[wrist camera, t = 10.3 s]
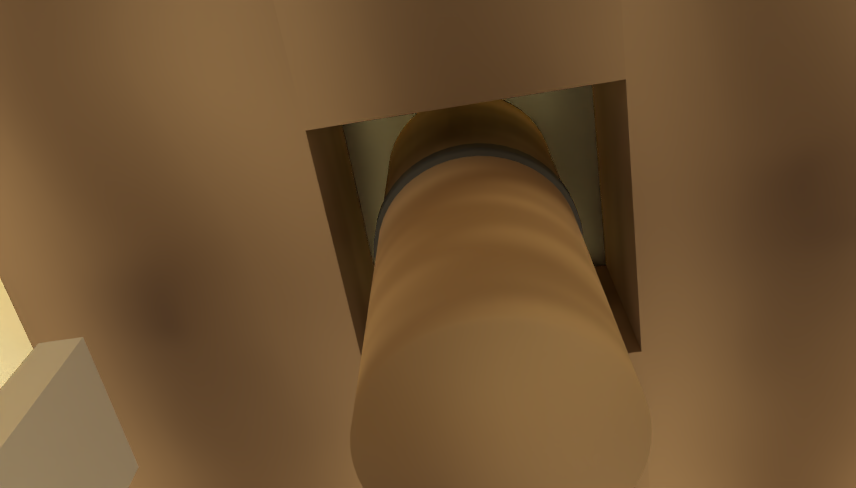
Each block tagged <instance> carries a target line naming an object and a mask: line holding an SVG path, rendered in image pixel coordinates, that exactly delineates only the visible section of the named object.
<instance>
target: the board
mask: <svg viewBox="0 0 856 488" xmlns="http://www.w3.org/2000/svg"><path fill="white" fill-rule="evenodd" d="M587 85H592V90H593V103H594V116H595V129H596V142H597V155H598V168H599V181H600V194H601V207H602V220H603V233H604V246H605V259H606V265H602V266H595V270H596V272H597V275H598V278H599V280H600V283H601V285H602V288H603V290H604V293H605V295H606V298H607V301H608V303H609V306H610V308H611V311H612V313H613V316H614V318H615V321H616V324H617V326H618V329H619V331H620V334H621V336H622V339H623V341H624V344H625V347H626V349H627V352H628V354H629V357H630V359H631V362H632V365H633V367H634V370H635V372H636V375H637V377H638V380H639V382H640V385H641V388H642V390H643V393H644V395H645V398H646V401H647V405H648V408H649V411H650V418H651V425H652V435H651V446H650V451H649V456H648V460H647V462H646V465H645V468H644V470H643V473H642V475H641V476H640V478H639V480H638V482H637V484H636V486H635V487H634V488H856V0H0V278H1V280H2V282H3V284H4V287H5V289H6V291H7V293H8V295H9V297H10V300H11V302H12V304H13V306H14V308H15V310H16V312H17V315H18V317H19V319H20V321H21V323H22V325H23V328H24V330H25V332H26V334H27V336H28V338H29V340H30V343H31V345H32V347H33V349H34V348H35V347H36V345H37V344H38V343H43V342H50V341H57V340H65V339H72V338H79V337H83V338H84V340H85V343H86V345H87V347H88V350H89V352H90V354H91V357H92V359H93V361H94V364H95V366H96V368H97V371H98V373H99V375H100V378H101V380H102V382H103V385H104V387H105V389H106V392H107V394H108V396H109V399H110V401H111V403H112V406H113V408H114V410H115V413H116V415H117V417H118V420H119V422H120V424H121V427H122V429H123V431H124V434H125V436H126V438H127V441H128V443H129V445H130V448H131V450H132V452H133V455H134V457H135V459H136V462H137V464H138V466H139V467H138V469H137V471H136V473H135V475H134V477H133V479H132V481H131V483H130V486H129V488H363V486H362V485H361V483H360V481H359V479H358V477H357V474H356V471H355V468H354V465H353V461H352V456H351V450H350V431H351V424H352V417H353V410H354V403H355V396H356V389H357V383H358V376H359V369H360V362H361V355H362V348H363V341H364V335H365V328H366V321H367V314H368V307H369V300H370V293H371V287H372V280H373V273H374V265H373V261H372V256H371V252H370V247H369V243H368V238H367V234H366V230H365V225H364V221H363V216H362V212H361V207H360V203H359V198H358V194H357V189H356V185H355V180H354V176H353V172H352V167H351V163H350V158H349V154H348V149H347V145H346V140H345V136H344V131H343V127H342V125H343V124H350V123H356V122H362V121H368V120H375V119H381V118H387V117H393V116H400V115H406V114H412V113H418V112H425V111H431V110H437V109H443V108H450V107H456V106H462V105H468V104H475V103H481V102H487V101H493V100H500V99H506V98H512V97H518V96H525V95H531V94H537V93H543V92H550V91H556V90H562V89H568V88H575V87H581V86H587Z"/></svg>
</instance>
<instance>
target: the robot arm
mask: <svg viewBox="0 0 856 488" xmlns="http://www.w3.org/2000/svg"><path fill="white" fill-rule="evenodd" d="M138 467H139V466H138V464H137V462H136V459H135V457H134V455H133V452H132V450H131V448H130V445H129V443H128V441H127V438H126V436H125V434H124V431H123V429H122V427H121V424H120V422H119V420H118V417H117V415H116V413H115V410H114V408H113V406H112V403H111V401H110V399H109V396H108V394H107V392H106V389H105V387H104V385H103V382H102V380H101V378H100V375H99V373H98V371H97V368H96V366H95V364H94V361H93V359H92V357H91V354H90V352H89V350H88V347H87V345H86V343H85V340H84V338H83V337H79V338H72V339H65V340H57V341H50V342H43V343H38V344H37V345H36V347H35V348H34V349H33V350H32V351H31V353H30V354H29V355H28V356H27V357H26V359H25V360H24V361H23V362H22V364H21V365H20V366H19V367H18V368H17V370H16V371H15V372H14V373H13V374H12V376H11V377H10V378H9V379H8V381H7V382H6V383H5V384H4V385H3V387H2V388H1V389H0V488H129V486H130V483H131V481H132V479H133V477H134V475H135V473H136V471H137V469H138Z"/></svg>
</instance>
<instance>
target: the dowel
mask: <svg viewBox="0 0 856 488" xmlns="http://www.w3.org/2000/svg"><path fill="white" fill-rule="evenodd" d="M374 258H375V266H374V273H373V280H372V287H371V293H370V300H369V307H368V314H367V321H366V328H365V335H364V341H363V348H362V355H361V362H360V369H359V376H358V383H357V389H356V396H355V403H354V410H353V417H352V424H351V431H350V450H351V456H352V461H353V465H354V468H355V471H356V474H357V477H358V479H359V481H360V483H361V485H362V486H363V488H634V487H635V486H636V484H637V482H638V480H639V478H640V476H641V475H642V473H643V470H644V468H645V465H646V462H647V460H648V456H649V451H650V446H651V435H652V425H651V418H650V411H649V408H648V405H647V401H646V398H645V395H644V393H643V390H642V388H641V385H640V382H639V380H638V377H637V375H636V372H635V370H634V367H633V365H632V362H631V359H630V357H629V354H628V352H627V349H626V347H625V344H624V341H623V339H622V336H621V334H620V331H619V329H618V326H617V324H616V321H615V318H614V316H613V313H612V311H611V308H610V306H609V303H608V301H607V298H606V295H605V293H604V290H603V288H602V285H601V283H600V280H599V278H598V275H597V272H596V270H595V267H594V265H593V262H592V260H591V257H590V254H589V252H588V249H587V247H586V244H585V242H584V239H583V232H582V226H581V222H580V219H579V215H578V212H577V210H576V207H575V205H574V202H573V200H572V198H571V196H570V194H569V192H568V190H567V189H566V187H565V186H564V184H563V183H562V181H561V180H560V178H559V175H558V173H557V170H556V167H555V165H554V162H553V160H552V157H551V155H550V152H549V150H548V147H547V144H546V142H545V140H544V138H543V136H542V134H541V132H540V131H539V129H538V128H537V126H536V125H535V123H534V122H533V121H532V120H531V119H530V118H529V117H528V116H527V115H526V114H525V113H523V112H522V111H521V110H520V109H518V108H516V107H515V106H513V105H512V104H510V103H507V102H505V101H503V100H501V99H500V100H493V101H487V102H481V103H475V104H468V105H462V106H456V107H450V108H443V109H437V110H431V111H425V112H419V113H417V114H416V115H415V116H414V117H413V118H412V119H411V120H410V121H409V122H408V123H407V124H406V126H405V127H404V128H403V129H402V131H401V133H400V134H399V136H398V138H397V140H396V142H395V144H394V146H393V150H392V153H391V157H390V163H389V170H388V177H387V184H386V191H385V197H384V202H383V204H382V206H381V209H380V212H379V215H378V219H377V225H376V231H375V238H374Z"/></svg>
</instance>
